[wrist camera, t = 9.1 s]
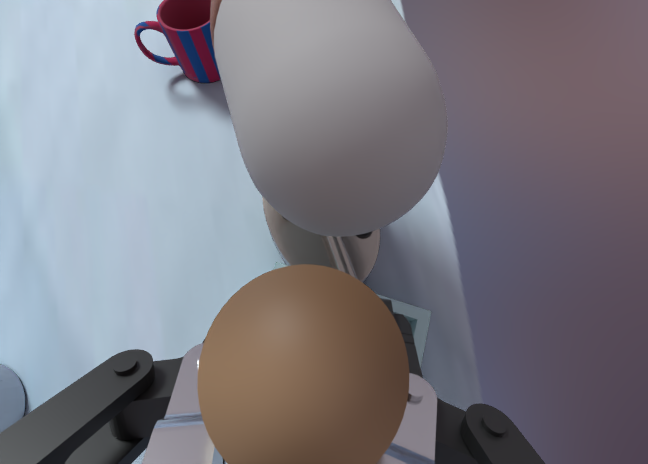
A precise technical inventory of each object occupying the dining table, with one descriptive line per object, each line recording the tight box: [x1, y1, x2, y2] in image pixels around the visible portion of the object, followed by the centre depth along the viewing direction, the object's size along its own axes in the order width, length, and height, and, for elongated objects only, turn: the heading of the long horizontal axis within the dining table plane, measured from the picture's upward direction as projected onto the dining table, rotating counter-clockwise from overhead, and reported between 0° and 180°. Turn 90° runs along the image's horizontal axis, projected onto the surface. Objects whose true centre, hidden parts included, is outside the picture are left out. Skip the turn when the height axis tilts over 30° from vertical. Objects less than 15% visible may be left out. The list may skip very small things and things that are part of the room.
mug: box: [134, 0, 221, 83], centre depth 37 cm, size 7×10×7 cm
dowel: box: [197, 264, 409, 464], centre depth 11 cm, size 4×4×11 cm
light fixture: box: [210, 0, 447, 283], centre depth 24 cm, size 11×22×34 cm
